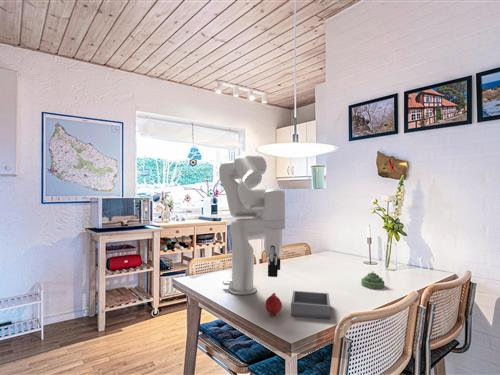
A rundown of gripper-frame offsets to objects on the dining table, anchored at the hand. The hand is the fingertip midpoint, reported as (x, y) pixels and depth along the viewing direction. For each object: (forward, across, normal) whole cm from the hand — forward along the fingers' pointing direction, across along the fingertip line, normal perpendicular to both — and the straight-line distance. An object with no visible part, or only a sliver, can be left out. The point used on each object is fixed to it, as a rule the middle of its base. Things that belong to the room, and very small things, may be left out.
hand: (274, 273), depth 110 cm
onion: (+16, -1, 0) cm, 16 cm away
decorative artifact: (+15, -45, +41) cm, 63 cm away
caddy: (+15, -9, +12) cm, 22 cm away
